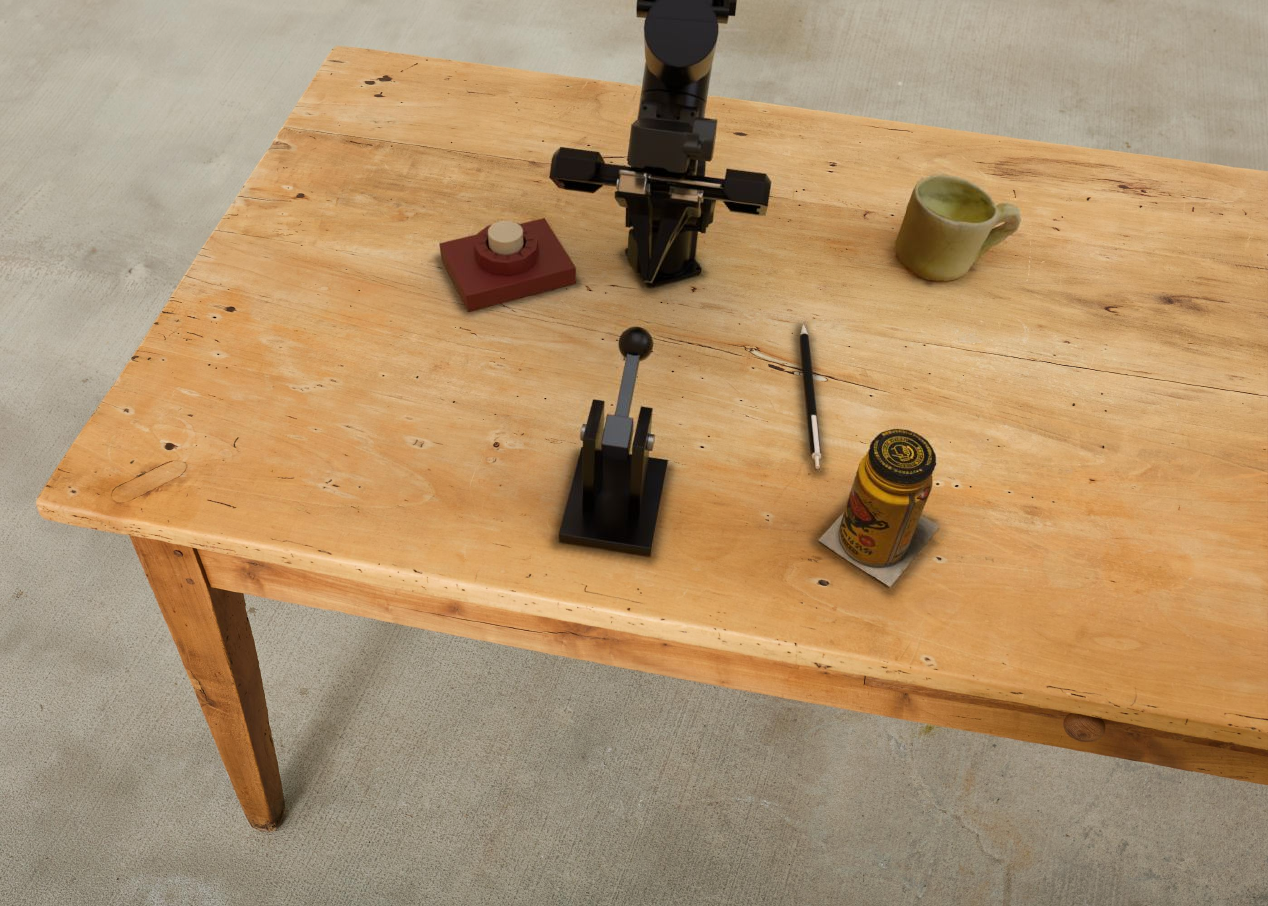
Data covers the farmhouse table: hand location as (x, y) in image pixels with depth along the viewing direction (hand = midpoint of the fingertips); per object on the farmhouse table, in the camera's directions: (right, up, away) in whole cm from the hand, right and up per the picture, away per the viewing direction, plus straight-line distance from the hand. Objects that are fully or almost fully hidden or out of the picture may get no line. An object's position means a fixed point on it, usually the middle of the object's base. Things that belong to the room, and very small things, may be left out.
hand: (647, 281), depth 92 cm
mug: (+34, +6, +25) cm, 43 cm away
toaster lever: (-2, -10, -2) cm, 11 cm away
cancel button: (-14, +7, +18) cm, 24 cm away
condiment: (+20, -22, 0) cm, 30 cm away
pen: (+16, -9, +11) cm, 22 cm away
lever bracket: (-3, -19, +1) cm, 20 cm away
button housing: (-15, +4, +21) cm, 26 cm away
